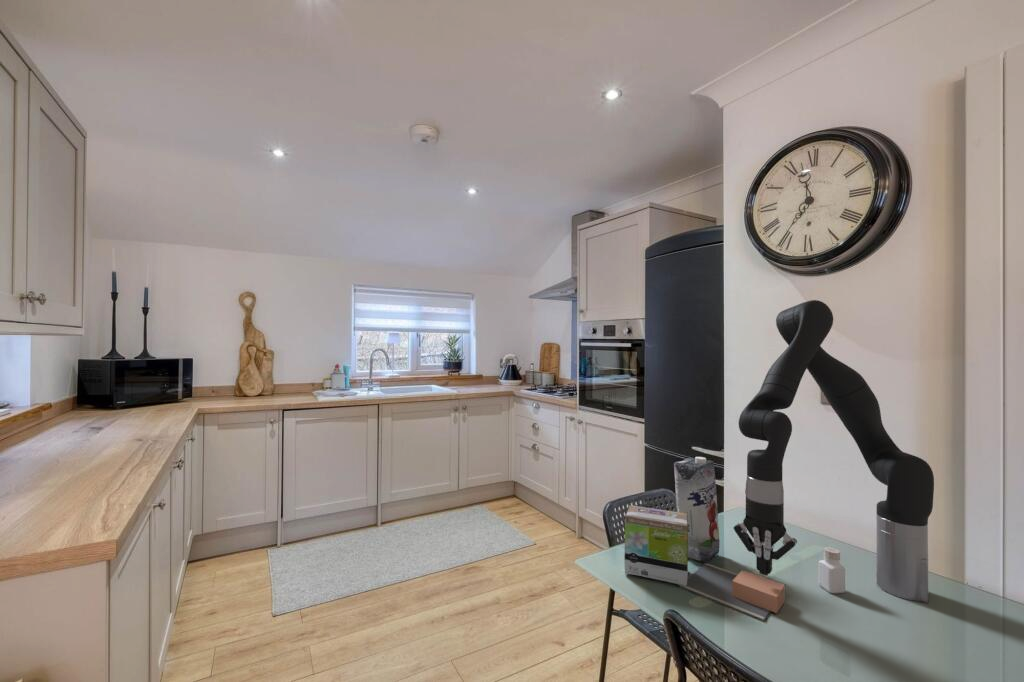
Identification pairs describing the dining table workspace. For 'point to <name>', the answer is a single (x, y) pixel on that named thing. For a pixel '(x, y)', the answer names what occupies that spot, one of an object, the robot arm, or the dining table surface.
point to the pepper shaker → (832, 571)
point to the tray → (721, 590)
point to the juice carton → (698, 506)
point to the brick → (758, 591)
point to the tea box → (656, 544)
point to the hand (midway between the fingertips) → (764, 573)
